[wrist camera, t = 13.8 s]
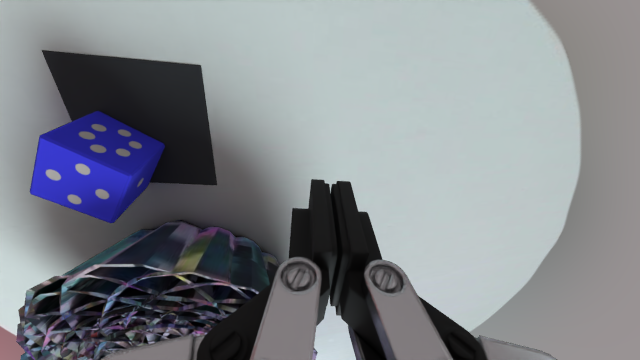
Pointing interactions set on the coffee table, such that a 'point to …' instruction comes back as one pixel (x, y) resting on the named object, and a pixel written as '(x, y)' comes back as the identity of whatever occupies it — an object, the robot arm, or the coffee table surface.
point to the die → (94, 165)
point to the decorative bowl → (143, 293)
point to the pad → (144, 106)
